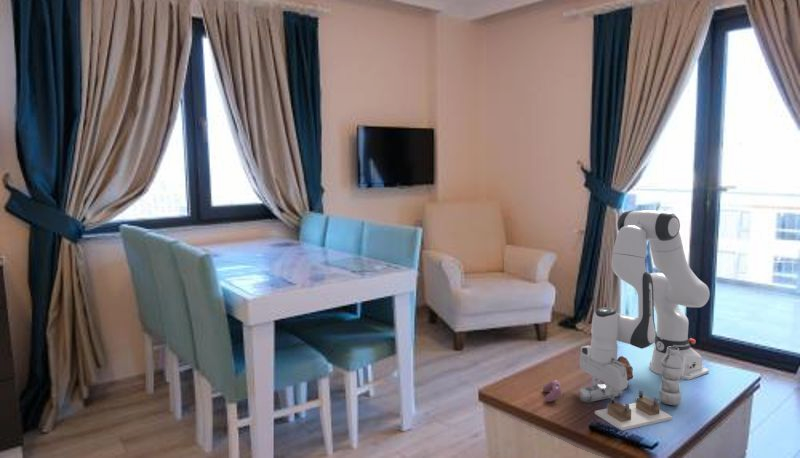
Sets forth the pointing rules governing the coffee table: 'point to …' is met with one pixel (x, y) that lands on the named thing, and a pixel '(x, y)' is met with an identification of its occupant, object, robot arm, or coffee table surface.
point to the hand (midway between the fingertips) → (601, 391)
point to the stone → (627, 366)
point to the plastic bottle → (671, 377)
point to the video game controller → (552, 390)
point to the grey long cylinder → (597, 393)
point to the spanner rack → (633, 413)
